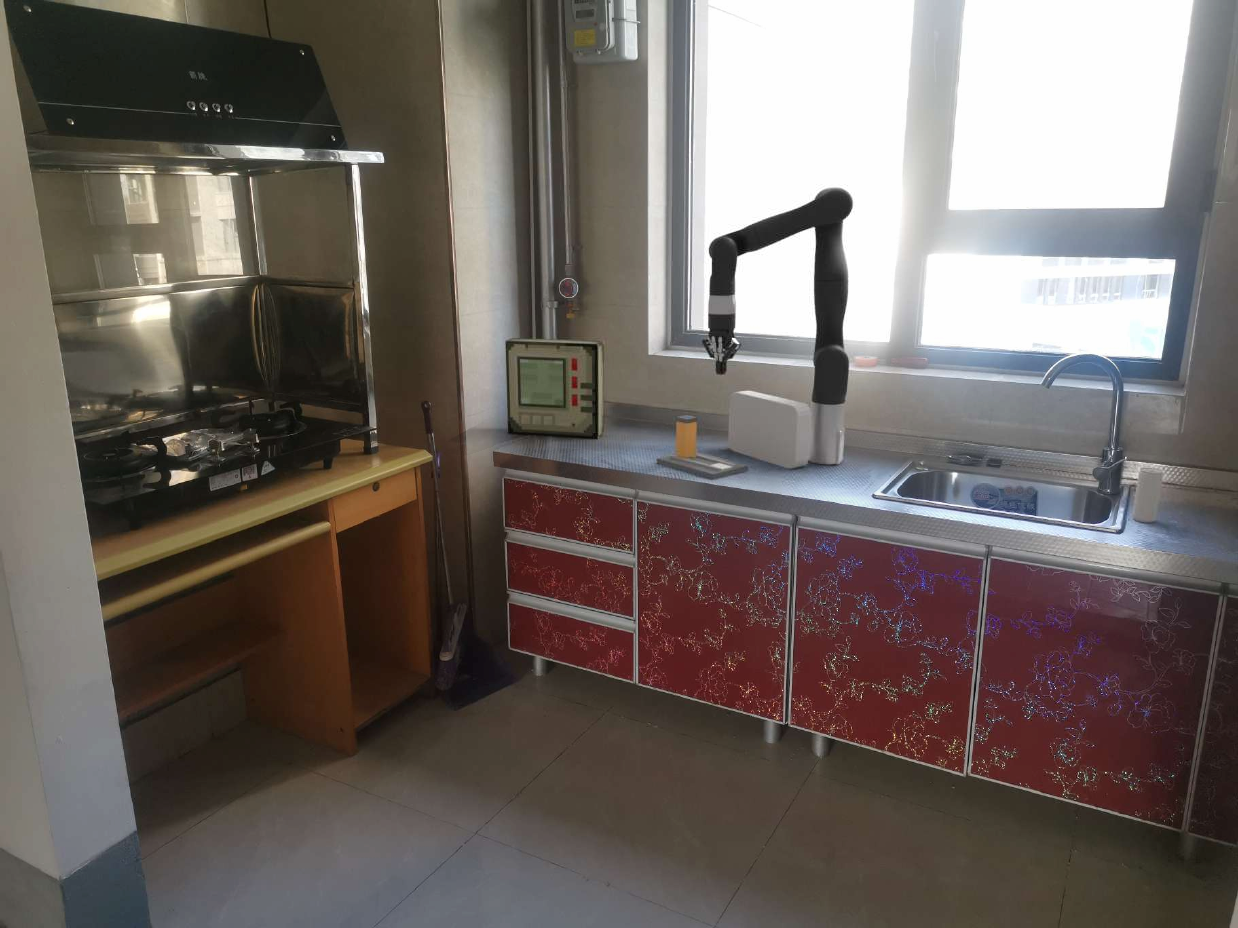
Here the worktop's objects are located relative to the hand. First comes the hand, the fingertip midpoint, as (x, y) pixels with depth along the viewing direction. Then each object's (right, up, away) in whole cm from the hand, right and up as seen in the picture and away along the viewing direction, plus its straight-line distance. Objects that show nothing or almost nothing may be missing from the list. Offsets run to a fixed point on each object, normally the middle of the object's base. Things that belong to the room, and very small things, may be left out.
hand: (720, 374), depth 255 cm
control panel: (-49, -16, +39) cm, 65 cm away
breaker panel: (-5, -26, +1) cm, 26 cm away
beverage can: (+93, -38, -43) cm, 110 cm away
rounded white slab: (+14, -24, +10) cm, 30 cm away
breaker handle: (-9, -23, +5) cm, 25 cm away
